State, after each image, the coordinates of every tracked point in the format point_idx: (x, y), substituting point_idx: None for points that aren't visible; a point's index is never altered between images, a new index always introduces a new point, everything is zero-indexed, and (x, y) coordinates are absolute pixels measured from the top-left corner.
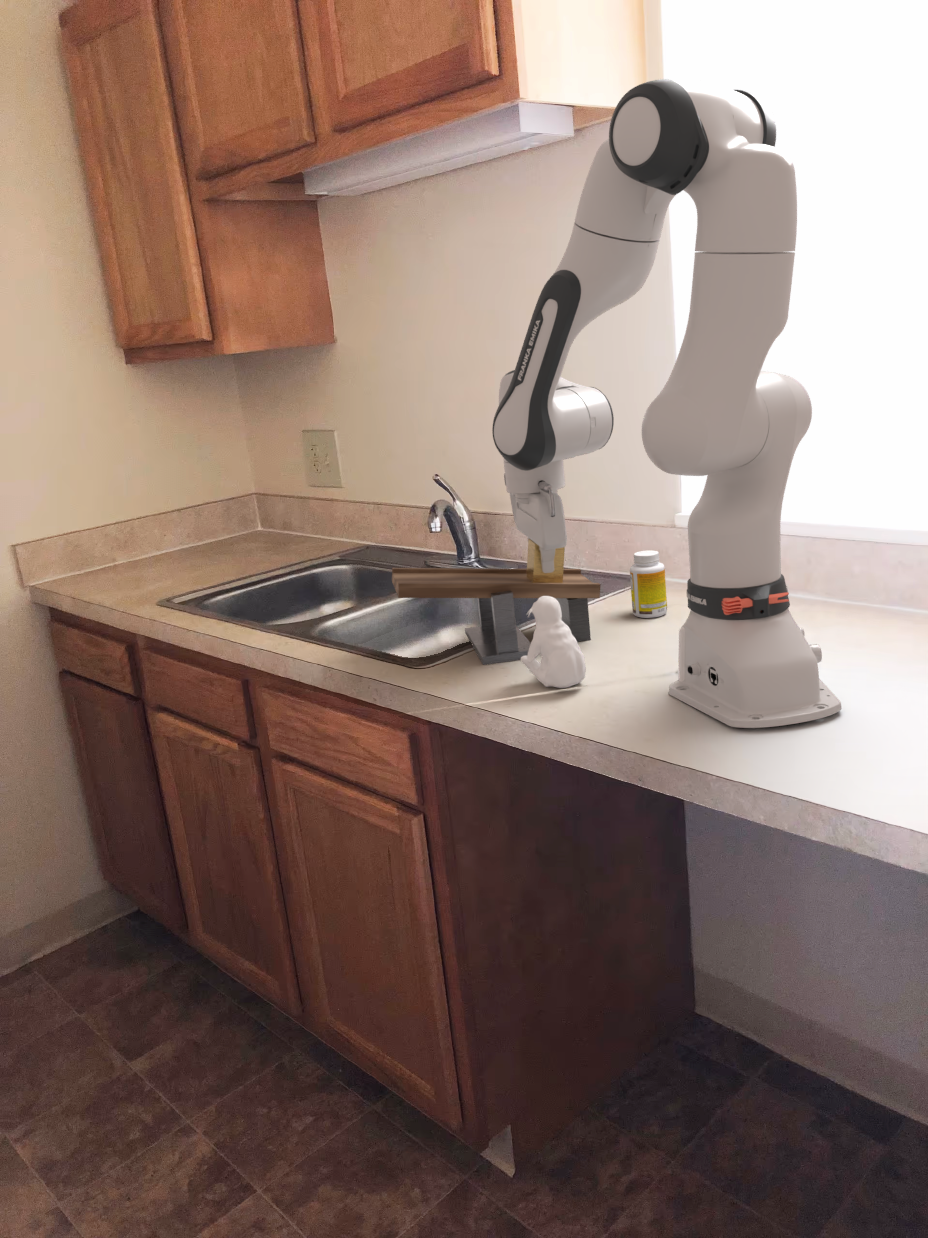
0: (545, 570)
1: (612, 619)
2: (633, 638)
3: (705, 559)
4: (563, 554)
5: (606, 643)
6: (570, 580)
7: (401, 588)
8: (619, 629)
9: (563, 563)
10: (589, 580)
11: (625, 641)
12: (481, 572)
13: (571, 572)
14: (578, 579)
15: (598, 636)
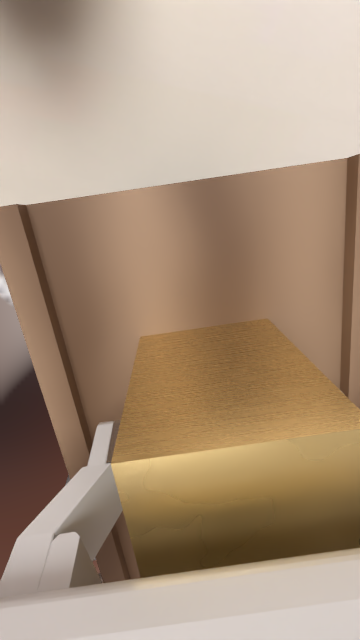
0: None
1: (51, 84)
2: (292, 56)
3: None
4: (330, 384)
5: (297, 155)
6: (206, 278)
7: None
8: (177, 84)
9: (301, 354)
10: (194, 182)
11: (308, 92)
12: (126, 565)
13: (38, 256)
14: (176, 236)
15: (223, 167)
